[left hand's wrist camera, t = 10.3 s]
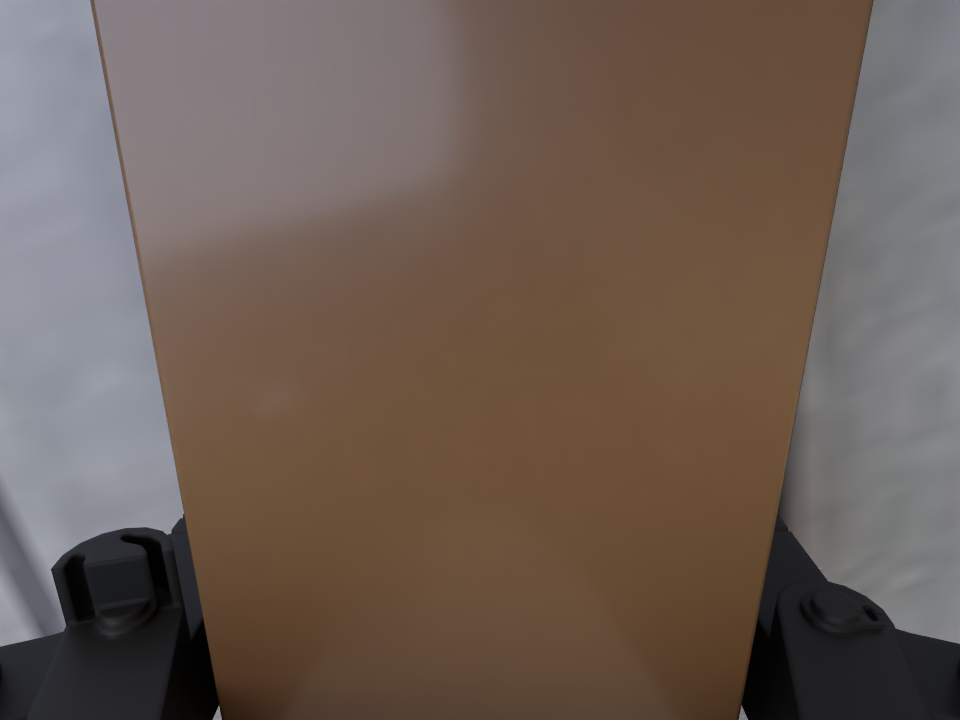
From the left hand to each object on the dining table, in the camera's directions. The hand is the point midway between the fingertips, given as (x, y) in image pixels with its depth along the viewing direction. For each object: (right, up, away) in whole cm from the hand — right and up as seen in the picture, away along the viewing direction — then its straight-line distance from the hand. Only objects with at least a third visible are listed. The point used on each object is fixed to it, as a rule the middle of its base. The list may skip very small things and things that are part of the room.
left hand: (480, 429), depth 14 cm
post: (0, +24, -8) cm, 26 cm away
